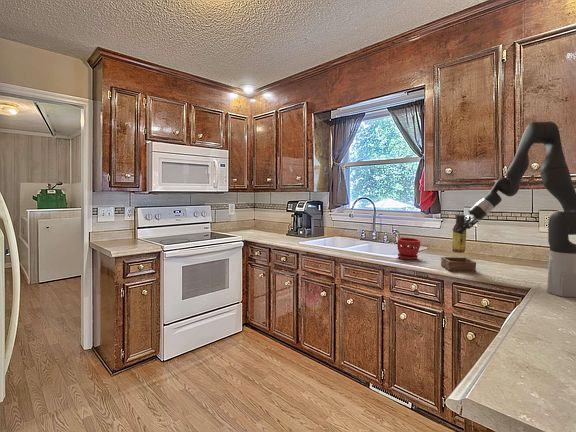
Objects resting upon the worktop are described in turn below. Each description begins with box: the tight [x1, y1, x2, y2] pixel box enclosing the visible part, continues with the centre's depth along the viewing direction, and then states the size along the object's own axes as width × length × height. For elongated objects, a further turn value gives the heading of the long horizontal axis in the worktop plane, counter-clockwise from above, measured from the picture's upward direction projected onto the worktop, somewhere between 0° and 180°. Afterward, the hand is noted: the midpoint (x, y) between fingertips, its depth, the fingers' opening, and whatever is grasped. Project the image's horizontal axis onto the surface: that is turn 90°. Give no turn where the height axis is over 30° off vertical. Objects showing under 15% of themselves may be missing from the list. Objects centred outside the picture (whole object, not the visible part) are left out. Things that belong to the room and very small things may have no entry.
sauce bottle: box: [451, 214, 467, 254], centre depth 170 cm, size 6×6×20 cm
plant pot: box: [396, 237, 421, 261], centre depth 198 cm, size 13×13×12 cm
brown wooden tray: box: [440, 256, 477, 273], centre depth 172 cm, size 12×13×5 cm
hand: (456, 231), depth 171 cm, fingers closed on sauce bottle, 6 cm apart
